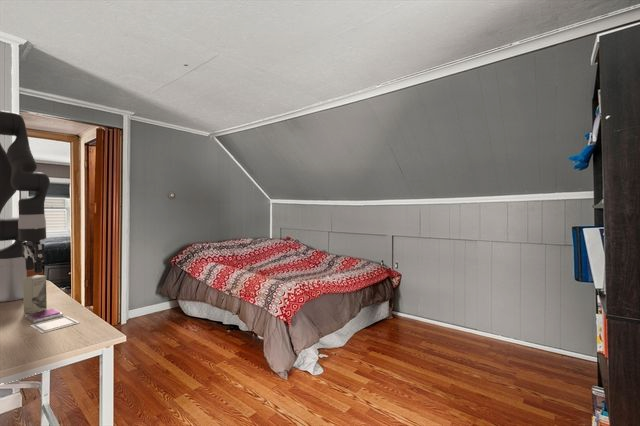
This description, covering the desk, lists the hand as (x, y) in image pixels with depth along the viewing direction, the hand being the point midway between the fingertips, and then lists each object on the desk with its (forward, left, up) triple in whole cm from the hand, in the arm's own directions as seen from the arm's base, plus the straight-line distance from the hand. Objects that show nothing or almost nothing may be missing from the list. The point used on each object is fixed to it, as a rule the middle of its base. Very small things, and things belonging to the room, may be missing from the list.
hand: (34, 271), depth 119 cm
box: (0, 0, -15) cm, 15 cm away
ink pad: (+10, 0, -15) cm, 18 cm away
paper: (+21, -1, -15) cm, 26 cm away
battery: (-36, +10, -15) cm, 40 cm away
